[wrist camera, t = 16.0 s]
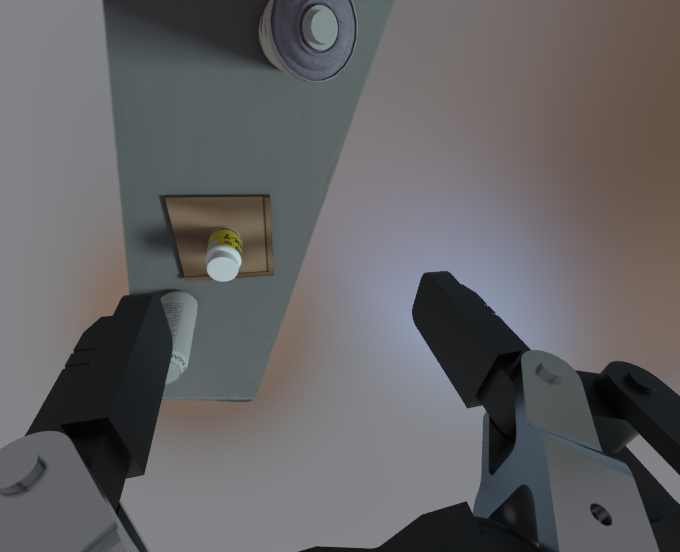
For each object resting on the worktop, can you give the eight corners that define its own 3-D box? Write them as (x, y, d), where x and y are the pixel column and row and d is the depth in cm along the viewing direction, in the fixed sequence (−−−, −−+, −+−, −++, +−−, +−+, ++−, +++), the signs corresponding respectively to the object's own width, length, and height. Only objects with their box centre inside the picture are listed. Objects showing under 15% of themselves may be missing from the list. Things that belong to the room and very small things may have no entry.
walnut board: (166, 195, 42) (164, 198, 42) (269, 194, 46) (270, 197, 45) (186, 277, 50) (185, 281, 50) (273, 271, 54) (273, 275, 53)
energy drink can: (170, 319, 54) (150, 392, 43) (152, 294, 51) (125, 367, 39) (204, 309, 55) (194, 379, 43) (189, 284, 51) (173, 353, 40)
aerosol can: (283, -20, 33) (320, -83, 17) (328, 37, 37) (392, 27, 21) (246, 37, 35) (248, 26, 19) (292, 85, 39) (326, 110, 23)
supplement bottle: (248, 240, 48) (249, 270, 42) (226, 258, 49) (224, 290, 43) (224, 219, 46) (221, 248, 39) (202, 238, 46) (195, 270, 40)
